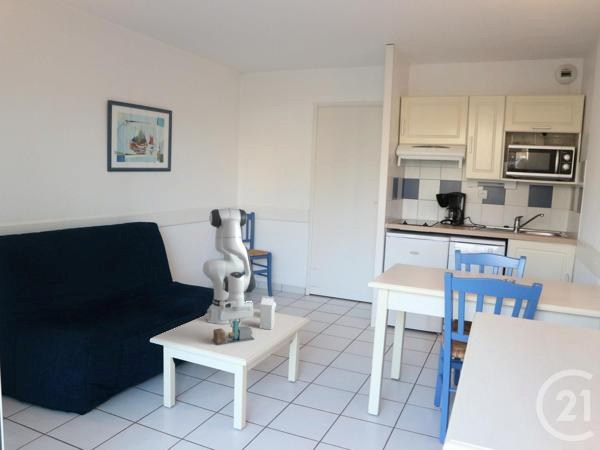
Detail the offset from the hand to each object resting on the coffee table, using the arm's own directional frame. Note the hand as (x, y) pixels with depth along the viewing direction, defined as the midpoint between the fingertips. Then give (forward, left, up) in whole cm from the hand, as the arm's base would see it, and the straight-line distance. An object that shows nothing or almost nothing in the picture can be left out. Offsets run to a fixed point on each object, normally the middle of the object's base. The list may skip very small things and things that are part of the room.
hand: (235, 326), depth 265 cm
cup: (-29, +35, -8) cm, 46 cm away
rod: (0, +3, -7) cm, 7 cm away
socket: (0, -9, -8) cm, 12 cm away
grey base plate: (0, -1, -8) cm, 8 cm away
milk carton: (-12, +26, -8) cm, 29 cm away
